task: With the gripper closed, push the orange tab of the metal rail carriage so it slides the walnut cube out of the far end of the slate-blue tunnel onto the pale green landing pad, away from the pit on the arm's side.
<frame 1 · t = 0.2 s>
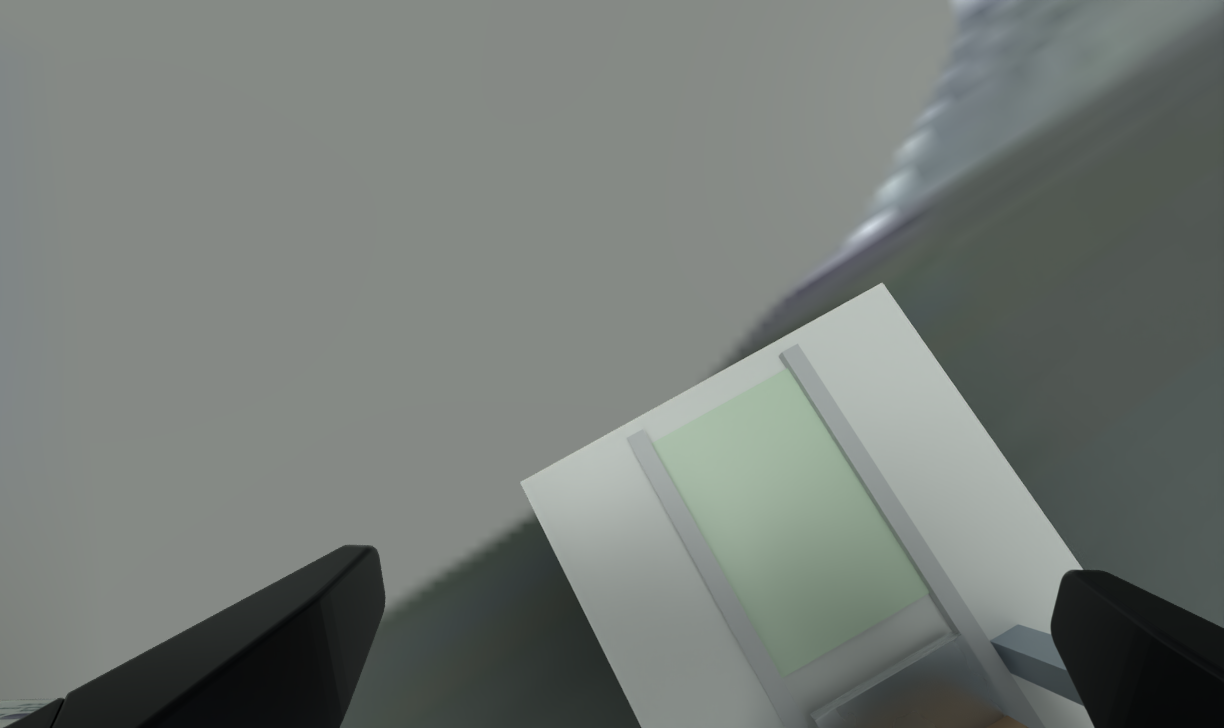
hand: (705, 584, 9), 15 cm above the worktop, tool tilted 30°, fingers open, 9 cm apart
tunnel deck: (884, 707, 21), on the worktop
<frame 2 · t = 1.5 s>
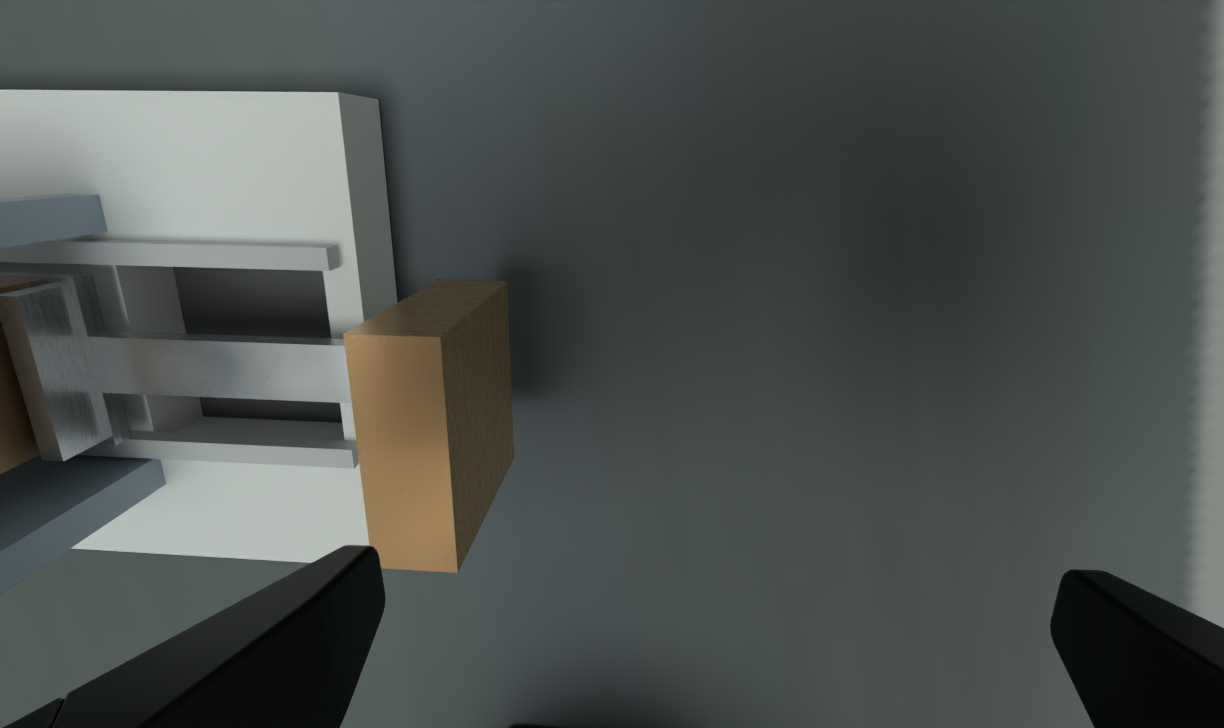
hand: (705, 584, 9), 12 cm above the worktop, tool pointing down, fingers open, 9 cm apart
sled: (90, 394, 16), point 6 cm above the worktop, slide at 0.0 cm, touching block
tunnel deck: (20, 322, 22), on the worktop
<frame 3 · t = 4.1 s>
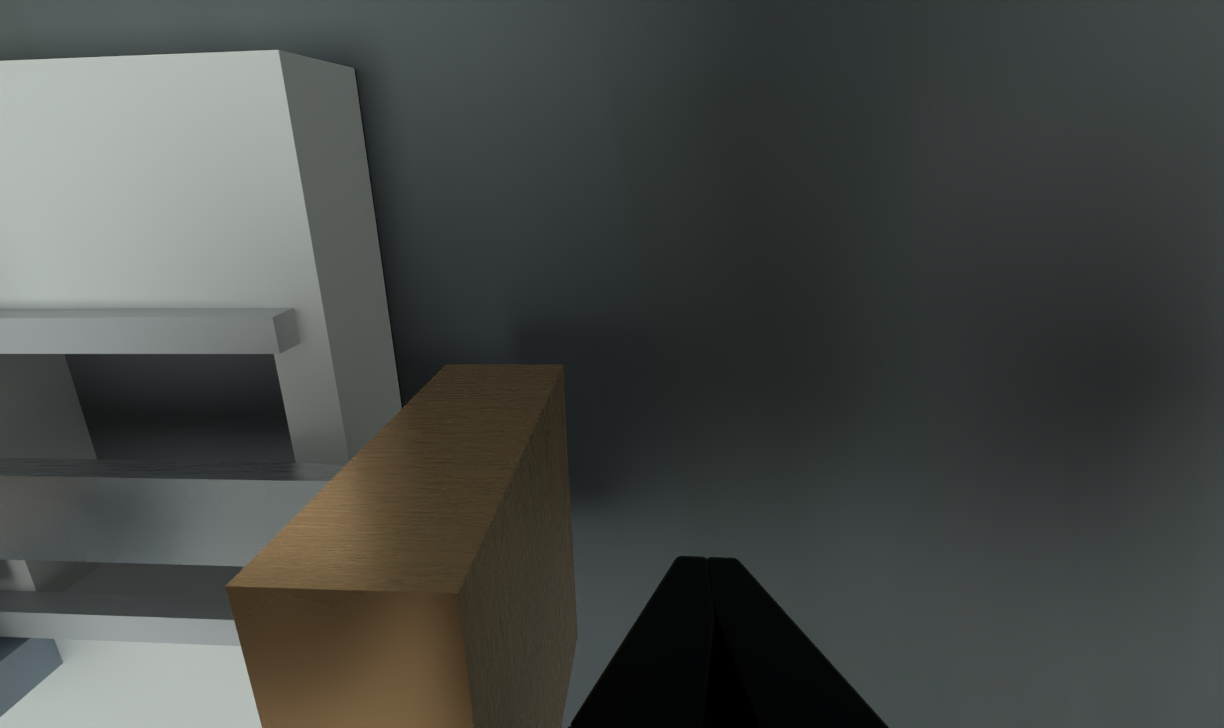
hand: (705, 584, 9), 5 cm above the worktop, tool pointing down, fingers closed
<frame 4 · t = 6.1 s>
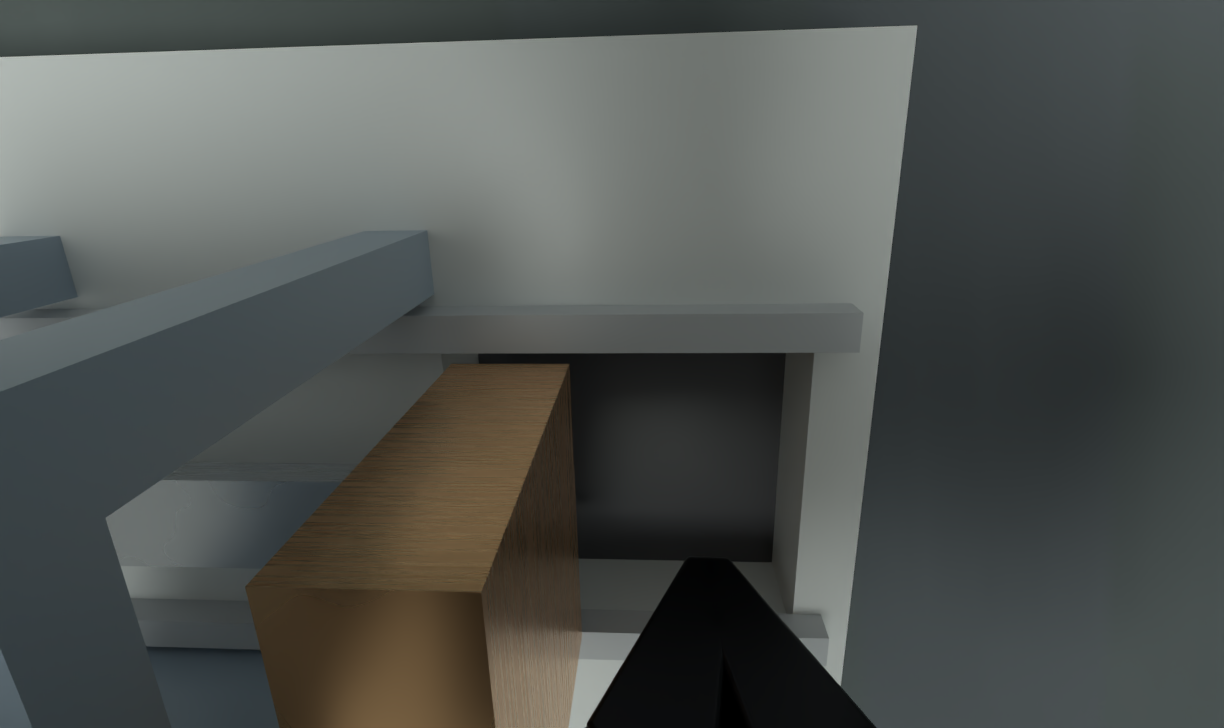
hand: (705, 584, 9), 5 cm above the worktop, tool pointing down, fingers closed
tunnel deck: (216, 425, 14), on the worktop
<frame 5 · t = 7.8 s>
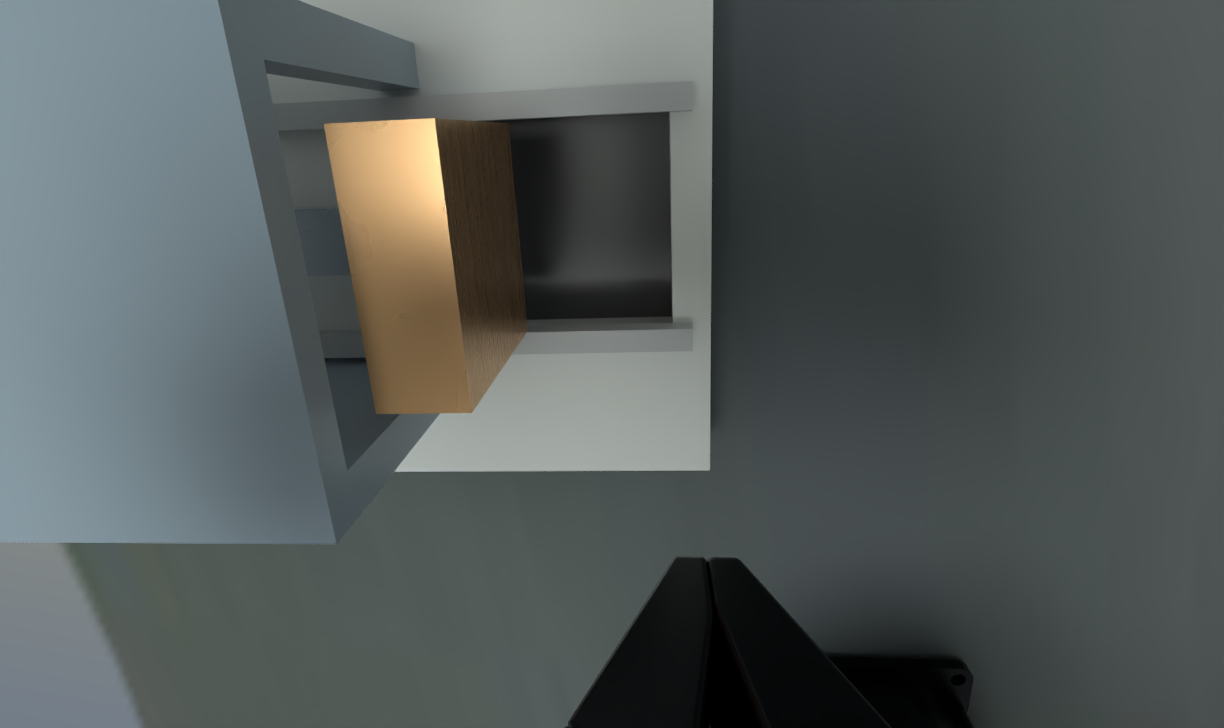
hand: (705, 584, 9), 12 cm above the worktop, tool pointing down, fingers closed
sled: (59, 264, 14), point 6 cm above the worktop, slide at 9.0 cm, touching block
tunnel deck: (270, 226, 19), on the worktop
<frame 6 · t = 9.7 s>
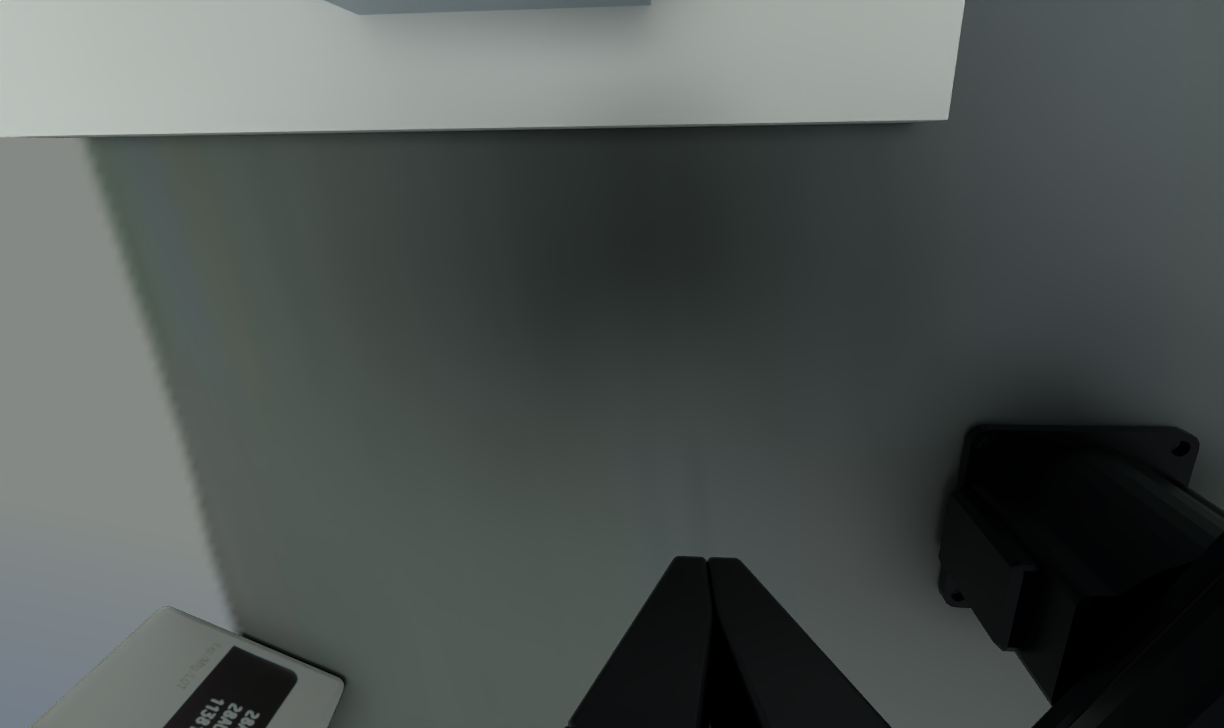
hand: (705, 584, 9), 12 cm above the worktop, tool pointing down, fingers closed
container: (238, 700, 27), on the worktop
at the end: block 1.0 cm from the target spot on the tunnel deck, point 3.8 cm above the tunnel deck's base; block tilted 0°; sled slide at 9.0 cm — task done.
